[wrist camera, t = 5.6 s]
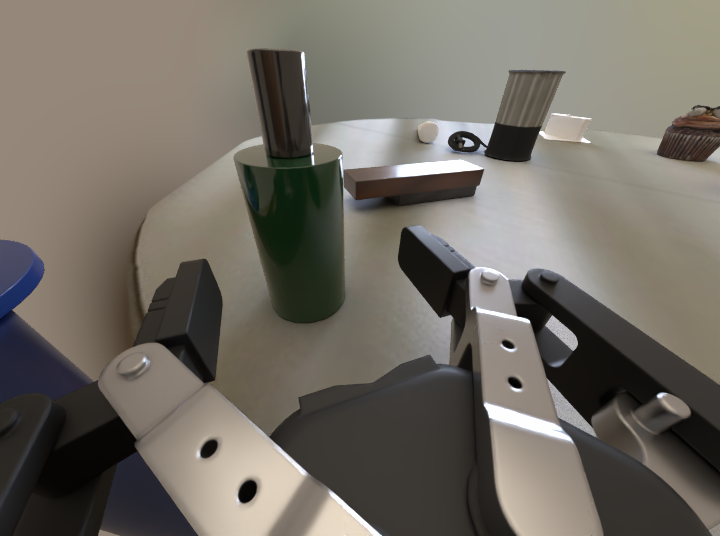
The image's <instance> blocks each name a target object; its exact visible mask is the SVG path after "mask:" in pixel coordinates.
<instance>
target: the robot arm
mask: <svg viewBox="0 0 720 536" xmlns="http://www.w3.org/2000/svg"><path fill="white" fill-rule="evenodd" d="M398 262H399V266H400V268H401V269H402V271H403V272H404V273H405V274H406V276H407V277H408V278H409V279H410V281H411V282H412V283H413V285H414V286H415V287H416V288H417V290H418V291H419V292H420V293H421V295H422V296H423V297H424V298H425V300H426V301H427V302H428V303H429V305H430V306H431V307H432V309H433V310H434V311H435V312H436V314H437V315H438V316H439V317H440V318H441V317H445V316H448V315H451V316H452V317H453V319H452V322H451V342H450V361H449V365H446V364H436V363H435V362H434V360H433V359H432V357H431V355H427V356H424V357H421V358H418V359H415V360H412V361H409V362H406V363H403V364H401V365H399V366H398V367H396V368H395V369H393V370H392V371H390V372H389V373H387V374H386V375H384V376H383V377H381V378H380V379H378V380H377V381H375V382H373V383H368V384H353V385H338V386H332V387H329V388H326V389H323V390H320V391H317V392H314V393H311V394H308V395H305V396H302V397H299V404H300V409H299V410H297V411H296V412H294V413H293V414H291V415H290V416H289V417H288V418H287V419H285V420H284V421H283V422H282V423H281V424H280V425H279V426H278V427H277V428H276V429H275V431H274V432H273V433H272V434H271V436H270V437H268V436H267V435H266V434H265V433H264V432H262V431H261V430H260V429H259V428H258V427H257V426H256V425H255V424H254V423H253V422H252V421H250V420H249V419H248V418H247V417H246V416H245V415H244V414H243V413H242V412H241V411H240V410H238V409H237V408H236V407H235V406H234V405H233V404H232V403H231V402H230V401H229V400H228V399H226V398H225V397H224V396H223V395H222V394H221V393H220V392H219V391H218V390H217V389H216V388H214V387H213V386H212V385H211V384H209V383H208V382H211V381H214V380H215V376H216V366H217V356H218V346H219V336H220V326H221V316H222V305H223V304H222V296H221V292H220V289H219V287H218V284H217V282H216V280H215V277H214V275H213V272H212V270H211V268H210V265H209V263H208V261H207V260H206V259H199V260H193V261H187V262H182V263H181V264H180V266H179V269H178V272H177V275H176V277H175V278H169V279H167V280H166V281H164V282H163V283H162V284H161V285H160V286H159V287H158V288H157V289H156V292H155V294H154V296H153V299H152V303H151V304H150V306H149V309H148V313H146V316H145V318H144V321H143V323H142V326H141V328H140V330H139V333H138V335H137V338H136V340H135V342H134V345H133V347H132V348H130V349H128V350H126V351H124V352H123V353H121V354H120V355H118V356H117V357H115V358H114V359H113V360H112V361H111V362H110V363H108V364H107V366H106V367H105V368H104V369H103V371H102V372H101V374H100V377H99V379H98V380H97V381H95V382H93V383H91V384H89V385H87V386H85V387H83V388H80V389H78V390H76V391H74V392H72V393H69V394H67V395H65V396H63V397H61V398H59V399H56V400H54V401H53V400H52V399H50V398H49V397H47V396H46V395H44V394H41V393H29V394H24V395H20V396H17V397H14V398H12V399H9V400H7V401H5V402H3V403H1V404H0V536H98V533H99V530H100V526H101V522H102V519H103V515H104V511H105V507H106V504H107V500H108V496H109V493H110V489H111V485H112V481H113V478H114V474H115V470H116V467H117V463H119V462H120V461H122V460H123V459H125V458H127V457H128V456H130V455H132V454H133V453H135V452H137V451H138V452H139V453H140V455H141V456H142V458H143V459H144V460H145V462H146V463H147V465H148V466H149V467H150V469H151V470H152V472H153V473H154V474H155V476H156V477H157V479H158V480H159V481H160V483H161V484H162V486H163V487H164V488H165V490H166V491H167V493H168V494H169V495H170V497H171V498H172V499H173V501H174V502H175V504H176V505H177V506H178V508H179V509H180V511H181V512H182V513H183V515H184V516H185V518H186V519H187V520H188V522H189V523H190V525H191V526H192V527H193V529H194V530H195V532H196V533H197V534H198V536H712V535H711V533H710V532H709V529H711V528H713V527H714V526H716V525H717V524H719V523H720V385H719V384H717V383H716V382H714V381H713V380H712V379H710V378H709V377H707V376H706V375H704V374H703V373H701V372H700V371H699V370H697V369H696V368H694V367H693V366H691V365H690V364H688V363H687V362H685V361H684V360H683V359H681V358H680V357H678V356H677V355H675V354H674V353H672V352H671V351H669V350H668V349H667V348H665V347H664V346H662V345H661V344H659V343H658V342H656V341H655V340H654V339H652V338H651V337H649V336H648V335H646V334H645V333H643V332H642V331H640V330H639V329H638V328H636V327H635V326H633V325H632V324H630V323H629V322H627V321H626V320H625V319H623V318H622V317H620V316H619V315H617V314H616V313H614V312H613V311H611V310H610V309H609V308H607V307H606V306H604V305H603V304H601V303H600V302H598V301H597V300H595V299H594V298H593V297H591V296H590V295H588V294H587V293H585V292H584V291H582V290H581V289H580V288H578V287H577V286H575V285H574V284H572V283H571V282H569V281H568V280H566V279H565V278H564V277H562V276H560V275H559V274H557V273H554V272H552V271H549V270H545V269H531V270H529V271H528V272H527V274H526V276H525V278H524V280H510V279H507V278H506V277H505V276H504V275H503V274H501V273H500V272H498V271H496V270H493V269H490V268H484V267H478V268H476V267H474V266H473V265H472V264H471V263H470V262H468V261H467V260H466V259H465V258H464V257H463V256H461V255H460V254H459V253H458V252H457V251H456V252H455V250H454V249H453V248H452V247H451V246H449V245H448V244H447V243H446V242H445V241H444V240H442V239H441V238H439V237H437V236H435V235H432V234H430V233H429V232H428V231H426V230H425V229H424V228H423V227H422V226H420V225H418V226H411V227H405V228H403V229H402V232H401V239H400V246H399V253H398ZM552 315H553V316H554V317H555V318H556V319H558V320H559V321H560V322H561V323H562V324H564V325H565V326H566V327H567V328H568V329H569V330H571V331H572V332H573V333H574V334H575V336H576V337H577V340H578V346H577V348H576V349H575V350H574V351H572V350H571V349H570V348H569V347H568V346H567V345H566V344H565V343H563V342H562V341H561V340H560V339H559V338H558V337H557V336H556V335H555V334H554V333H552V332H551V331H550V330H549V329H548V328H547V327H546V326H545V325H546V323H547V322H548V320H549V319H550V317H551V316H552ZM547 379H548V380H549V381H550V382H551V383H552V384H553V385H554V386H555V387H556V389H557V390H558V391H559V392H560V393H561V394H562V395H563V396H564V397H565V398H566V399H567V401H568V402H569V403H570V404H571V405H572V406H573V407H574V408H575V409H576V410H577V411H578V413H579V414H580V415H581V416H582V417H583V418H584V419H585V420H586V421H587V422H588V423H589V424H590V426H591V427H592V428H593V429H594V431H595V433H596V435H597V436H595V437H594V436H592V435H590V434H588V433H586V432H584V431H582V430H580V429H579V428H577V427H575V426H573V425H571V424H569V423H567V422H565V421H563V420H561V419H560V418H558V416H557V412H556V409H555V406H554V402H553V399H552V395H551V392H550V388H549V385H548V381H547Z"/></svg>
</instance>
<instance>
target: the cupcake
mask: <svg viewBox="0 0 720 536" xmlns="http://www.w3.org/2000/svg"><path fill="white" fill-rule="evenodd" d="M719 146H720V106H719V107H716V108H710V107H708V106H700V105H698V106H695V107H693V108H692V109H691V110H689V111H688V113H687V114H686V115H685V116H680V117H678V118H676V119H675V120H674V121H673V122H672V126H670V127H668V128H667V129H666V131H665V134H664V136H663V139H662V142H661V144H660V146H659V149H658V151H657V154H658V155H660V156H664V157H668V158H673V159H679V160H687V161H704V160H706V159H707V158H708V157H709V156H710V155H711V154H712V153H713V152H714V151H715V150H716V149H717V148H718V147H719Z"/></svg>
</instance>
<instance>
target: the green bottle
mask: <svg viewBox="0 0 720 536" xmlns="http://www.w3.org/2000/svg"><path fill="white" fill-rule="evenodd" d="M246 54H247V60H248V65H249V70H250V75H251V81H252V86H253V91H254V96H255V102H256V107H257V112H258V117H259V123H260V128H261V133H262V138H263V145H258V146H253V147H249V148H246V149H243V150H241V151H238V152H237V153H236V154H235V155H234V162H235V166H236V170H237V173H238V177H239V181H240V185H241V188H242V192H243V196H244V200H245V204H246V207H247V211H248V215H249V219H250V223H251V226H252V230H253V234H254V238H255V242H256V245H257V249H258V253H259V257H260V261H261V264H262V268H263V272H264V276H265V279H266V283H267V287H268V291H269V295H270V298H271V302H272V306H273V308H274V310H275V312H276V313H277V314H278V315H279V316H281V317H282V318H284V319H286V320H289V321H292V322H298V323H309V322H315V321H319V320H322V319H325V318H327V317H329V316H331V315H332V314H334V313H335V312H336V311H337V310H338V309H339V308H340V307H341V305H342V304H343V302H344V299H345V258H344V208H343V158H342V152H341V151H340V150H339V149H337V148H335V147H332V146H329V145H324V144H317V143H313V141H312V129H311V117H310V105H309V94H308V82H307V71H306V59H305V53H304V52H302V51H296V50H286V49H248V50H247V51H246Z"/></svg>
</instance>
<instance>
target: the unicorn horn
mask: <svg viewBox="0 0 720 536" xmlns="http://www.w3.org/2000/svg"><path fill="white" fill-rule="evenodd" d="M438 131H439V130H438V126H437V125H436V124H435V123H433V122H425V123H422V124H420V125H418V135H419V139H420V140H421V141H422V142H424V143H431V142H433V141H434V140H435V139H436V138H437V136H438Z"/></svg>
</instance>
